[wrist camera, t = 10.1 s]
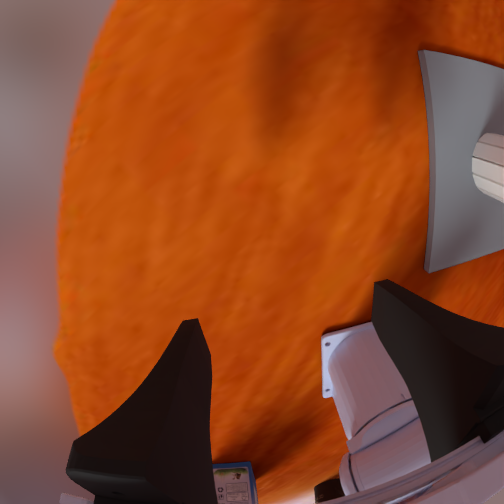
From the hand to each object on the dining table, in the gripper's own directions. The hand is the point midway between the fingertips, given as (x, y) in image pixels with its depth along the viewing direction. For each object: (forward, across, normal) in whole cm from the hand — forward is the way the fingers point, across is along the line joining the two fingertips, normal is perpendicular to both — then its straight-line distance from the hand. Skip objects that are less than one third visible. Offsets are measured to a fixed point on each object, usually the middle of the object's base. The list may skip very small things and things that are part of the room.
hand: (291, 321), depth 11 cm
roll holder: (+9, -20, -3) cm, 23 cm away
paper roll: (+9, -20, -3) cm, 22 cm away
